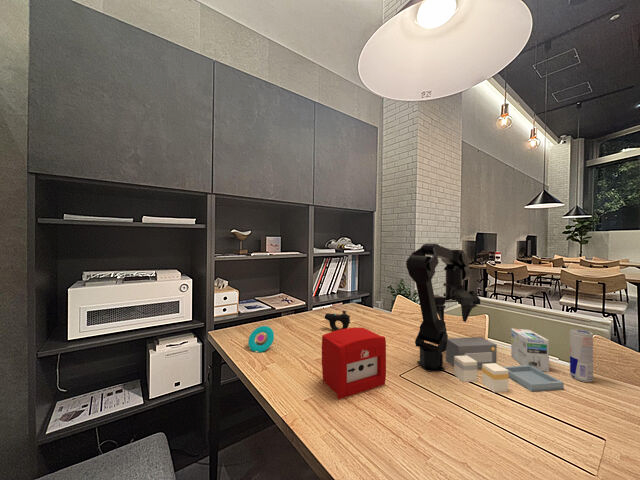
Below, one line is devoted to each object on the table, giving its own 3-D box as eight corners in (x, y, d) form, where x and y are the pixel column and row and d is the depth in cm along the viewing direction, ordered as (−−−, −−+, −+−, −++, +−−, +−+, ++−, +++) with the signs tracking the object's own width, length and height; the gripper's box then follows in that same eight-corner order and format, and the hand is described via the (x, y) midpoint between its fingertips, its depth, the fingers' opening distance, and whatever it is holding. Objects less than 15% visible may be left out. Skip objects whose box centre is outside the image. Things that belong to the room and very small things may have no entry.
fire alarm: (340, 400, 69) (340, 344, 69) (321, 381, 78) (321, 332, 78) (386, 385, 76) (386, 335, 76) (364, 369, 86) (364, 324, 86)
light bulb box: (550, 372, 85) (550, 339, 85) (526, 370, 86) (526, 338, 86) (530, 358, 95) (530, 329, 95) (510, 356, 96) (510, 327, 97)
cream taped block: (494, 392, 73) (494, 371, 73) (481, 383, 78) (482, 363, 78) (508, 391, 74) (508, 370, 74) (495, 382, 78) (495, 363, 78)
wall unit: (459, 371, 85) (459, 346, 85) (445, 360, 93) (445, 338, 93) (497, 368, 87) (497, 344, 87) (480, 358, 95) (480, 336, 95)
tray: (531, 391, 73) (531, 384, 73) (500, 373, 84) (500, 366, 84) (563, 389, 75) (563, 382, 75) (529, 371, 85) (529, 365, 85)
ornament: (280, 336, 106) (261, 326, 110) (278, 331, 103) (258, 321, 106) (265, 360, 100) (245, 349, 103) (263, 356, 97) (242, 345, 100)
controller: (348, 334, 118) (349, 312, 118) (323, 331, 122) (323, 310, 123) (350, 331, 122) (351, 310, 122) (326, 328, 126) (326, 308, 127)
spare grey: (463, 382, 78) (463, 362, 78) (453, 374, 83) (453, 355, 83) (477, 381, 79) (477, 361, 79) (466, 373, 83) (466, 355, 84)
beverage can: (586, 376, 82) (586, 329, 82) (597, 384, 77) (597, 334, 77) (566, 373, 84) (566, 327, 84) (576, 381, 79) (575, 332, 79)
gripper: (443, 285, 91) (443, 329, 90) (491, 284, 93) (491, 328, 93) (426, 280, 102) (426, 320, 102) (470, 280, 104) (470, 319, 104)
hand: (453, 321), depth 100 cm, fingers open, 9 cm apart
